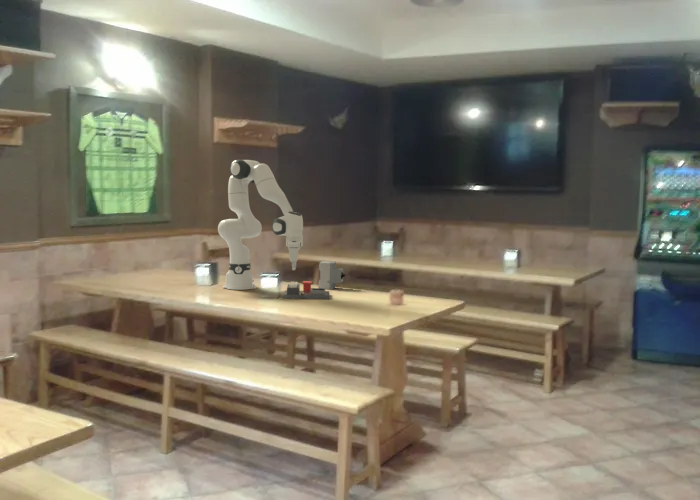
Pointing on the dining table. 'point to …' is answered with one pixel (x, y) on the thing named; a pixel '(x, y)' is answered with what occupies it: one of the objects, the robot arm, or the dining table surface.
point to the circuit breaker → (329, 275)
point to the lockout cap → (307, 285)
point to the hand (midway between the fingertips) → (294, 269)
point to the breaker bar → (293, 285)
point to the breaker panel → (306, 293)
